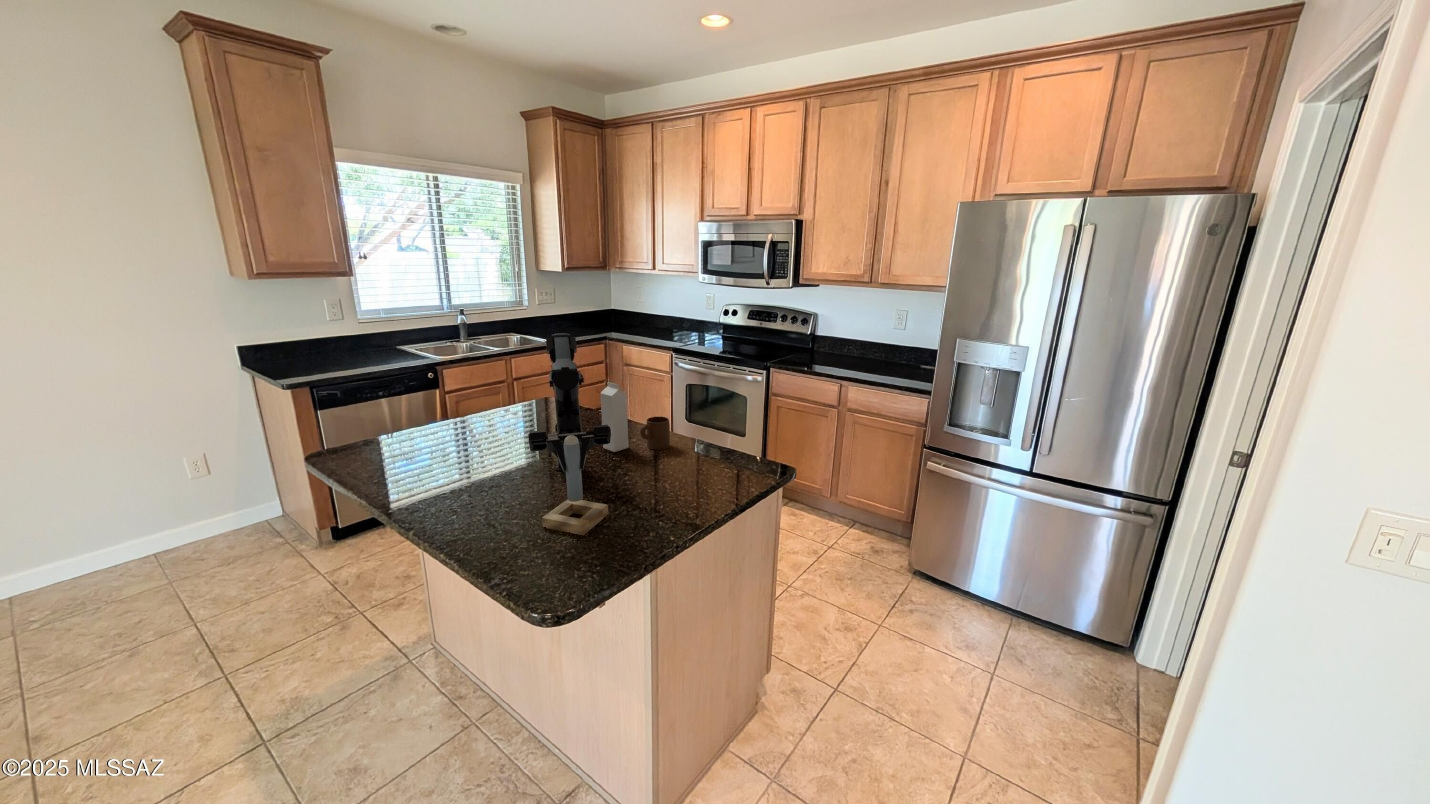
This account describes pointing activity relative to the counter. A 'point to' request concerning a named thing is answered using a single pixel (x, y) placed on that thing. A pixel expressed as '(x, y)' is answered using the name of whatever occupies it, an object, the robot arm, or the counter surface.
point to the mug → (656, 433)
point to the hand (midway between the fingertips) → (573, 470)
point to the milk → (615, 416)
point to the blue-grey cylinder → (573, 468)
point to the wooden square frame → (581, 526)
